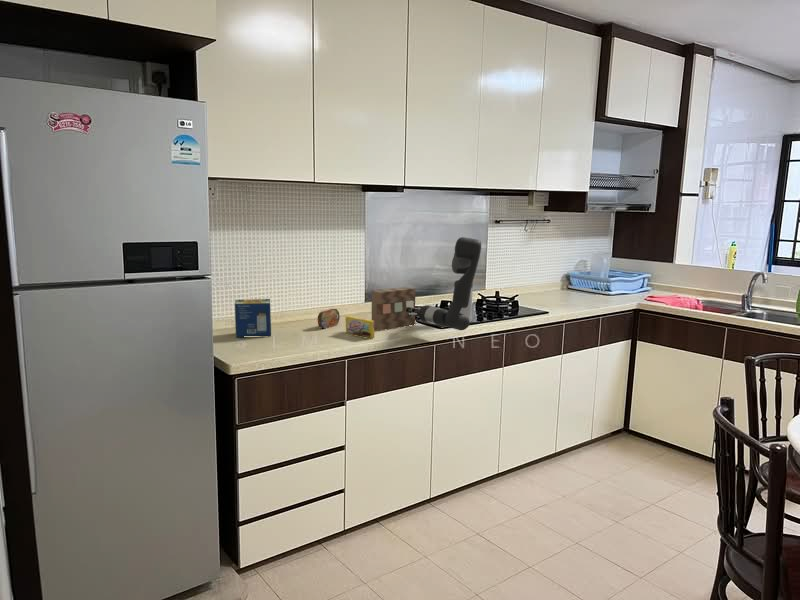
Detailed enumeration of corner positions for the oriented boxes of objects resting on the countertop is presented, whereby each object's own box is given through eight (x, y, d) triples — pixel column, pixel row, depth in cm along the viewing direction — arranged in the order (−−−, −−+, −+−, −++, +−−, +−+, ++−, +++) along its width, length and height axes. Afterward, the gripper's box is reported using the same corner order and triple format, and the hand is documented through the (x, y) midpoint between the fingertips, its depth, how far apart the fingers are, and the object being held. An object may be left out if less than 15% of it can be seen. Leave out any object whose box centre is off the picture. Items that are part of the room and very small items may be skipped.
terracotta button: (386, 312, 279) (386, 302, 278) (390, 312, 277) (390, 303, 276) (379, 313, 277) (379, 303, 276) (383, 314, 274) (383, 304, 273)
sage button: (398, 310, 284) (398, 301, 283) (402, 311, 281) (402, 302, 280) (391, 311, 281) (391, 302, 280) (394, 312, 278) (395, 303, 278)
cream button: (409, 308, 288) (409, 299, 287) (413, 309, 285) (413, 300, 285) (402, 309, 285) (402, 300, 284) (406, 310, 283) (406, 301, 282)
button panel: (405, 322, 293) (406, 286, 290) (414, 325, 288) (415, 288, 285) (371, 328, 280) (371, 290, 277) (380, 330, 275) (380, 292, 272)
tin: (321, 330, 275) (321, 312, 274) (316, 329, 277) (316, 311, 275) (340, 324, 288) (340, 307, 287) (335, 323, 290) (334, 306, 288)
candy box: (345, 334, 268) (345, 316, 267) (348, 333, 270) (348, 315, 268) (371, 339, 258) (371, 321, 256) (374, 338, 259) (374, 320, 258)
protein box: (236, 333, 268) (235, 299, 265) (271, 331, 271) (270, 298, 268) (235, 338, 258) (234, 303, 255) (271, 337, 261) (270, 302, 258)
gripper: (443, 305, 264) (418, 300, 278) (420, 308, 256) (396, 302, 270) (442, 321, 265) (418, 315, 279) (420, 325, 257) (396, 318, 271)
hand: (407, 309), depth 274 cm, fingers closed
